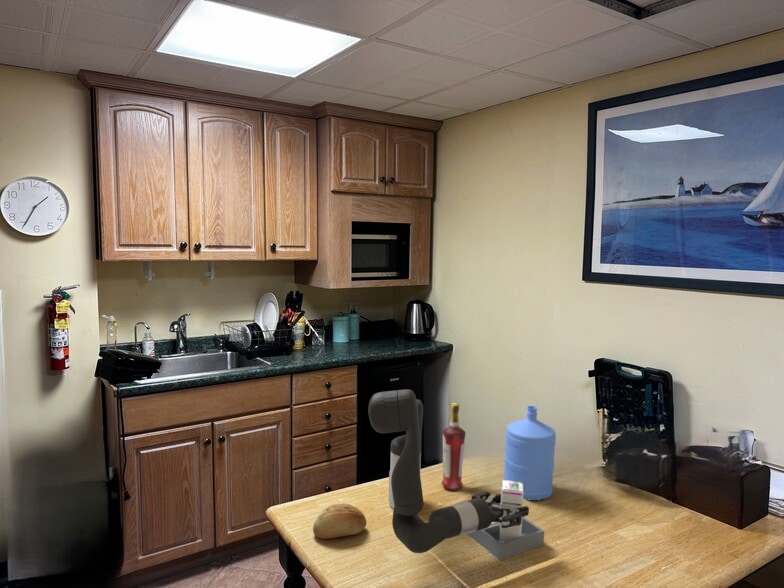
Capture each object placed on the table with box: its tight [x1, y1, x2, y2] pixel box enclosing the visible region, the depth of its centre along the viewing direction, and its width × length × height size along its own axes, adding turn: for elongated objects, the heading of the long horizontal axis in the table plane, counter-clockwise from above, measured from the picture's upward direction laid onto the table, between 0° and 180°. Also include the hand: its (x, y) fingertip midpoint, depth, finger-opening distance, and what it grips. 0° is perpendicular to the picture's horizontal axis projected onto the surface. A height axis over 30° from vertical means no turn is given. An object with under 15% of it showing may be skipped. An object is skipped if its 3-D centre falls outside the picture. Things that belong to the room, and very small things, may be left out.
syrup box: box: [499, 479, 524, 542], centre depth 147 cm, size 6×6×14 cm
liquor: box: [441, 402, 466, 491], centre depth 180 cm, size 7×7×28 cm
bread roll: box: [312, 503, 367, 540], centre depth 153 cm, size 10×15×8 cm, turn 109°
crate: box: [467, 503, 545, 561], centre depth 153 cm, size 20×15×5 cm
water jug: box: [503, 405, 557, 501], centre depth 179 cm, size 16×16×28 cm
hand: (517, 503), depth 148 cm, fingers closed on syrup box, 8 cm apart
